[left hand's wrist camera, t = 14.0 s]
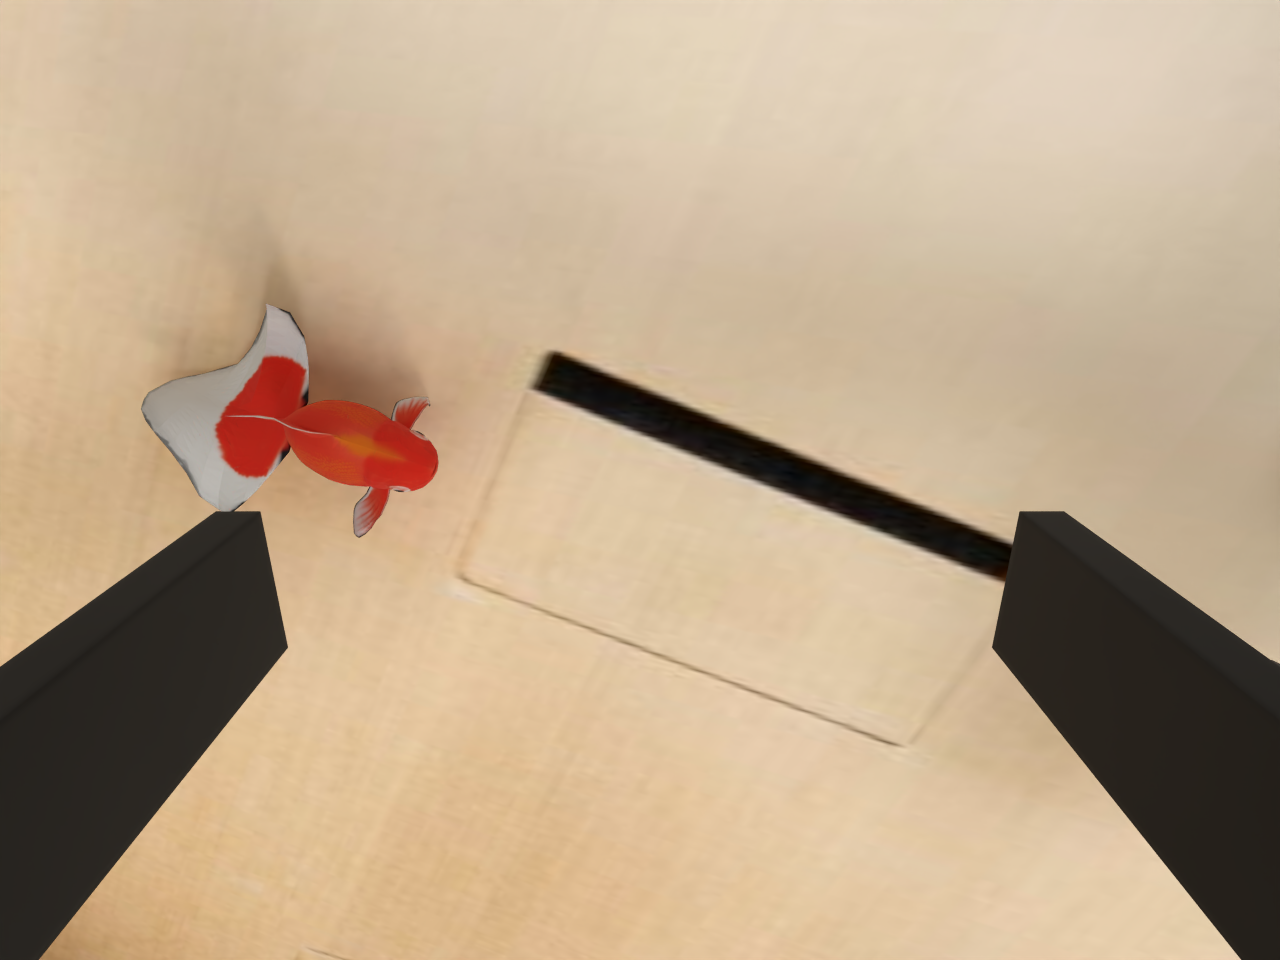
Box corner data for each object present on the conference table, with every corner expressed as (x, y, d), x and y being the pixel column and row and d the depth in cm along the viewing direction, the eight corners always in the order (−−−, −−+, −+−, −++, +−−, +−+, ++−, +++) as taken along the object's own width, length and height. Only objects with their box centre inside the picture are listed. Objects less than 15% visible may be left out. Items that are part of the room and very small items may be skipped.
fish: (390, 610, 39) (263, 613, 30) (204, 458, 43) (38, 416, 34) (502, 448, 40) (413, 399, 30) (308, 311, 44) (173, 228, 34)
